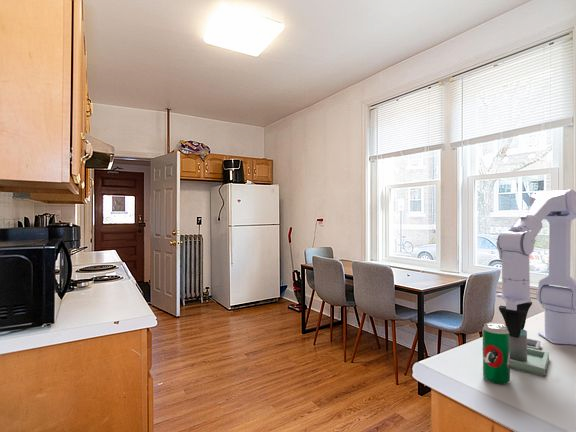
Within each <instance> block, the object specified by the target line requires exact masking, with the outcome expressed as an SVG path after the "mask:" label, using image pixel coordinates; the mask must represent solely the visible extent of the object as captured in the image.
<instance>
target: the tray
mask: <svg viewBox="0 0 576 432" xmlns="http://www.w3.org/2000/svg"><path fill="white" fill-rule="evenodd" d="M549 361H550V353H549V351H543V350H540V349H539V350H535V349H531V348H527V361H525V362H520V361H516V360H512V359H510V369H514V370H517V371H521V372H525V373H529V374H533V375H537V376H541V377H543V378H544V377H545V376H546V372H547V370H548V369H547V368H548V365H549Z"/></svg>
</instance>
